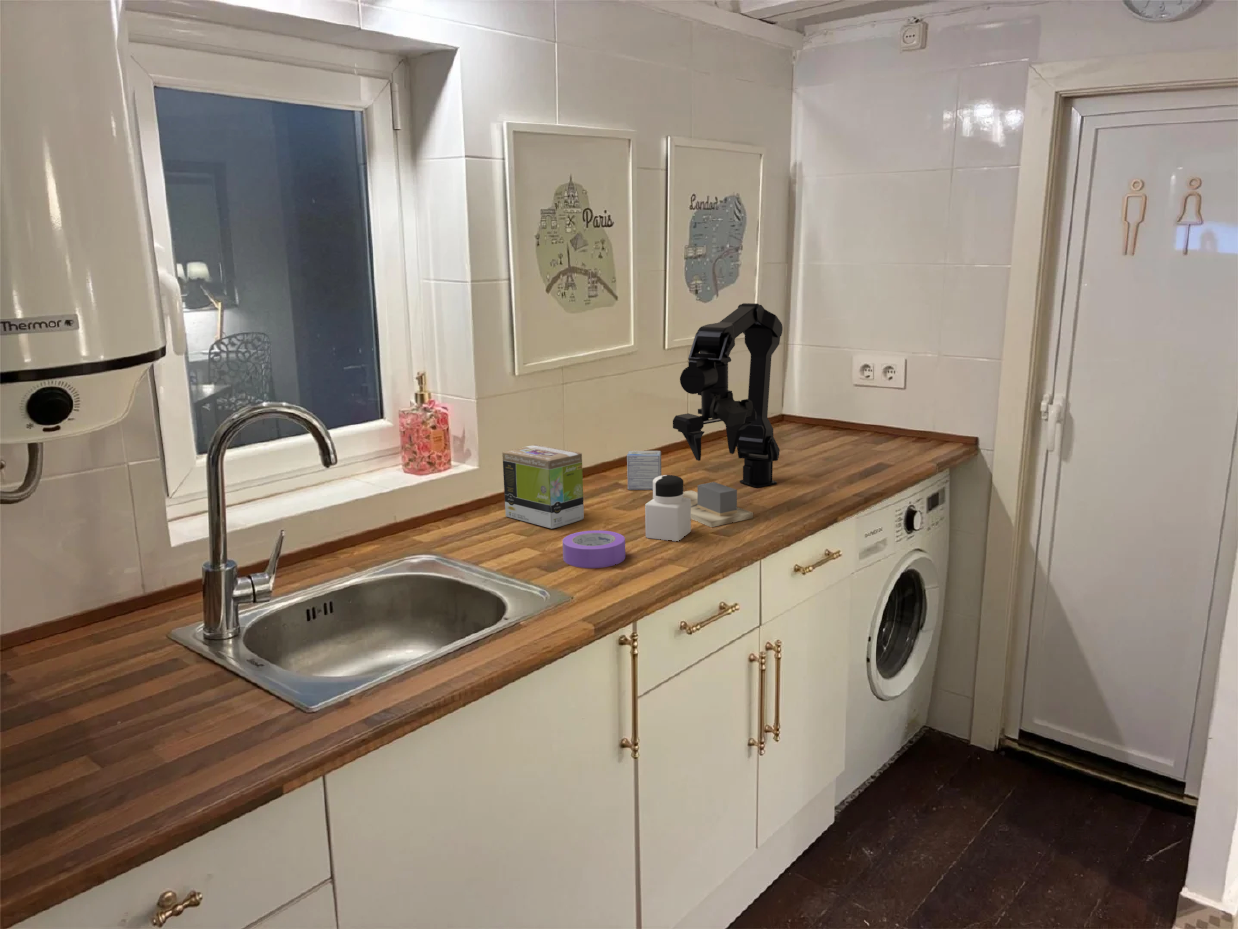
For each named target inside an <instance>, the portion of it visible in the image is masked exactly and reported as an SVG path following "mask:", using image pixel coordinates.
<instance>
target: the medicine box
mask: <svg viewBox="0 0 1238 929" xmlns="http://www.w3.org/2000/svg"><path fill="white" fill-rule="evenodd" d="M626 462H627V464H626V469H627V470H626V472H627V490H628V491H630V490H631V491H632V490H635V491H637V490H638V491H639V490H642V491H643V490H649V491H650V490H651V491H653V480H654V479H655V478H656V477H658V476H662V451H661V450H629V451H628V452H627V455H626Z"/></svg>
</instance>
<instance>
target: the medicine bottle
mask: <svg viewBox="0 0 1238 929" xmlns="http://www.w3.org/2000/svg"><path fill="white" fill-rule="evenodd" d="M683 492H684V480H683V478H682V477H680V476H679V475H673V474H664V475H662V474H661V476H658V477H656V478H655V479H654V480H653V490H652V498H654V499H652V498H651V500H649V501H648V502H647V503H645V504H644V506H645V508H644V509H645V510H644V511H645V512H644V513H645V514H644V516H645V518H644V519H645V520H644V521H645V523H644V524H645V538H647V539H652V540H660V539H661V540H662V541H668V540H672V541H671V542H676V541H678V542H680V541H681V540H682V539H683V538H685V537H686V536H687V535H688V534H690V532H692V519H691V499H690V498H683ZM684 536H685V537H684ZM661 540H660V541H661ZM679 540H680V541H679Z"/></svg>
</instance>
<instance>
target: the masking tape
mask: <svg viewBox="0 0 1238 929" xmlns="http://www.w3.org/2000/svg"><path fill="white" fill-rule="evenodd" d="M562 559H563V562H564V563H565V564H567V565H569V566H572V567H576V568H582V569H600V568H608V567H612V566H616V565H618V564H619V565H620V563H622V562H624V560H625V559H626V538H625V536H624V535H623V534H621V533H618V532H615V531H610V530H584V531H579V532H578V531H577V532H575V533H571V534H568V535H566V536H565V537H564V538H562ZM615 564H616V565H615Z"/></svg>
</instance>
